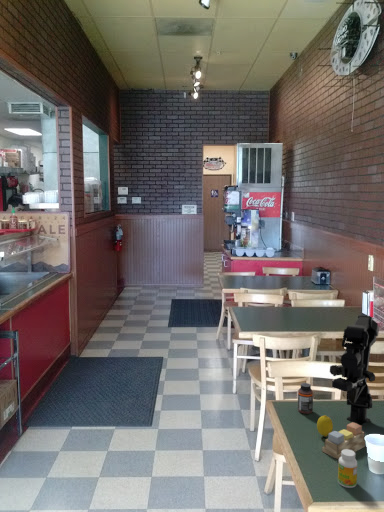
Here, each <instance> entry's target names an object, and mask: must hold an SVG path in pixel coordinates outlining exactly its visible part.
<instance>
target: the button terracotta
mask: <svg viewBox="0 0 384 512" xmlns="http://www.w3.org/2000/svg"><path fill="white" fill-rule="evenodd" d="M362 427H363V425H359V424H357V423H355V422H352V421H351V422H350V423H347V424H346V429H345V430H347V431H349V432H352V433H353V435H355V436H356V435H358V434H360V433H361V431H363V430H362Z"/></svg>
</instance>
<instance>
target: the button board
mask: <svg viewBox="0 0 384 512" xmlns="http://www.w3.org/2000/svg"><path fill="white" fill-rule="evenodd" d="M365 435H366V433H365V432H364V431H363V430H362V431H361V433H360V434H358V435H356V436H355V435H353V437H352V438H350V439H348V440H345V439H344V442H343V443H341V444H339V445H336V444H334V443H332V442H330V441H328V438H326V439H324V446H322V447H321V449H322V450H321V452H322V453H324V454H326V455H329V456H330V457H332V458H334V459H337V460H338V461H339V458H340V457H341V451H342V450H344V449H349V450H352V451H354V452H355V453H356V452H358V451H360V450H361V449H363V448H365V447H366V446H365V441H366V440H364V437H366V436H365Z"/></svg>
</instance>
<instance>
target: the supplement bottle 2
mask: <svg viewBox="0 0 384 512" xmlns="http://www.w3.org/2000/svg"><path fill="white" fill-rule="evenodd" d="M337 467H338V469H337V483H338V484H339V485H340V486H341V487H344V488H348V489H352V488H355V487H356V486H357V482H358V480H357V478H358V461H357V459H356V452H354V451H352V450H349V449H344V450H342V451H341V457H340V458H339V460H338V466H337Z"/></svg>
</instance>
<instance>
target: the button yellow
mask: <svg viewBox="0 0 384 512" xmlns="http://www.w3.org/2000/svg"><path fill="white" fill-rule="evenodd" d="M338 432H339V433H341V434H344V439H345V440H348V439H350V438H352V437H353V433H352V432H349V431H347V430H346V429H344V428H343V429H341V430H339V431H338Z"/></svg>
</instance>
